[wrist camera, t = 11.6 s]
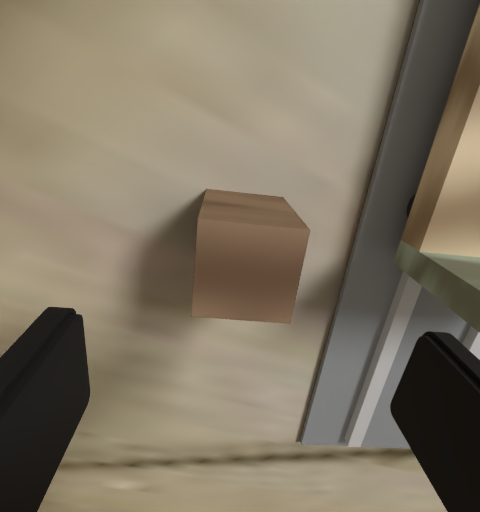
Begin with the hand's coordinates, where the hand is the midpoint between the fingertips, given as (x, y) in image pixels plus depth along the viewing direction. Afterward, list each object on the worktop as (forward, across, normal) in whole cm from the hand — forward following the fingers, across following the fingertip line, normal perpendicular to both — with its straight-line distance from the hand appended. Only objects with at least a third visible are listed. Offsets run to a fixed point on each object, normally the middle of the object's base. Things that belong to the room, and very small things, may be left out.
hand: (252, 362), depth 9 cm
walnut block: (+13, 0, 0) cm, 13 cm away
